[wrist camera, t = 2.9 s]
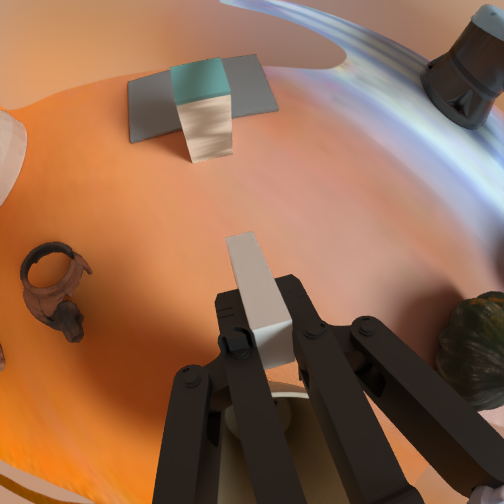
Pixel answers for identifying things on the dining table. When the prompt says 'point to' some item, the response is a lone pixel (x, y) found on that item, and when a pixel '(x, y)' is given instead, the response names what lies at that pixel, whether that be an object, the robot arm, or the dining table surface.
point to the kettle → (10, 152)
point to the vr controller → (56, 292)
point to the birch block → (204, 108)
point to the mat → (164, 108)
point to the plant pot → (300, 445)
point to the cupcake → (1, 360)
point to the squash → (475, 351)
